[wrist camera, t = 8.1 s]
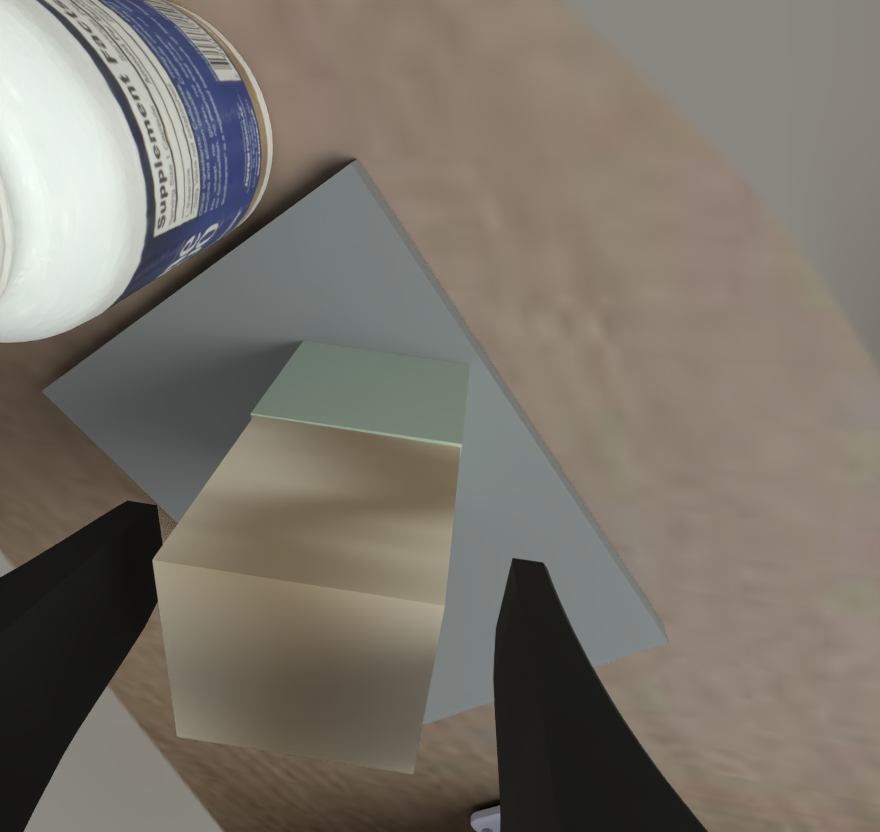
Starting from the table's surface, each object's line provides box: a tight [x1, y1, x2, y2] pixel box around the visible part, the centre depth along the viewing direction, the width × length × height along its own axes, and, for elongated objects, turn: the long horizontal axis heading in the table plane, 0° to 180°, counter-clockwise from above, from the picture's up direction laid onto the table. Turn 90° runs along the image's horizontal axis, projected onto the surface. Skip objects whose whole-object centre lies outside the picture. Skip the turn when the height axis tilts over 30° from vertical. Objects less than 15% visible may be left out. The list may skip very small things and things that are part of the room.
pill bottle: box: [0, 0, 273, 343], centre depth 11 cm, size 5×5×10 cm
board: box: [42, 159, 669, 725], centre depth 20 cm, size 18×12×1 cm, turn 33°
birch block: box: [152, 415, 461, 774], centre depth 12 cm, size 4×4×4 cm
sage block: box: [251, 341, 470, 454], centre depth 16 cm, size 4×4×4 cm
